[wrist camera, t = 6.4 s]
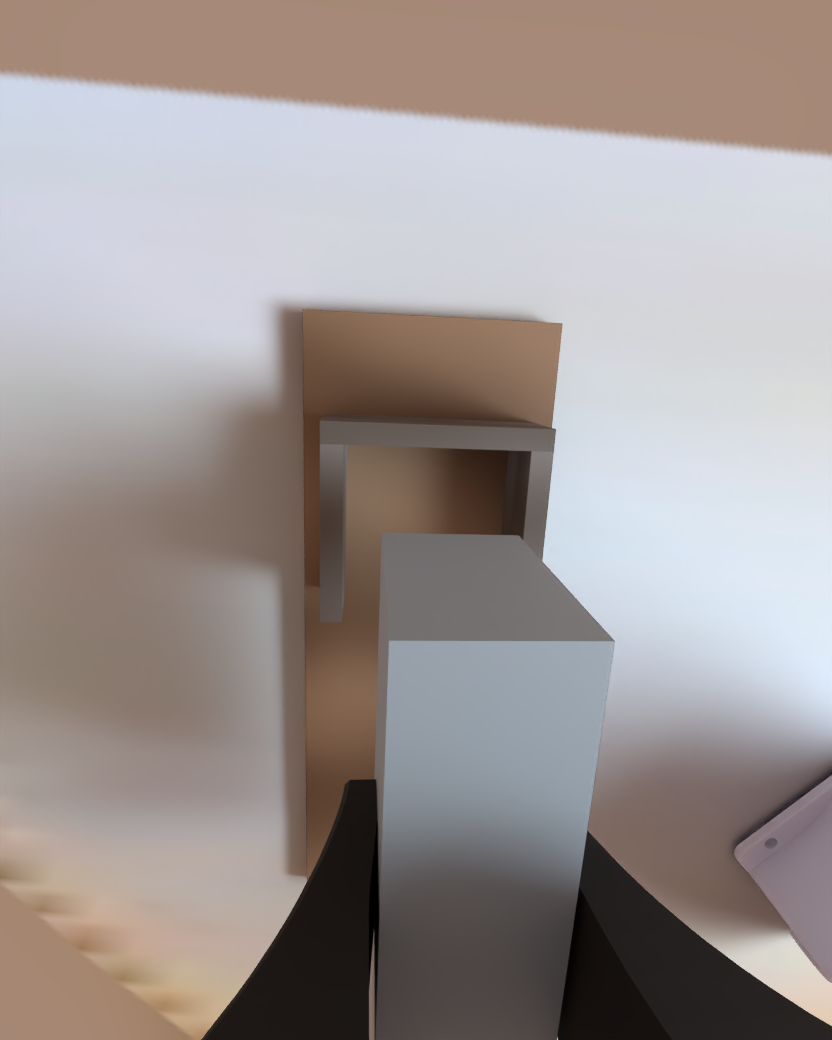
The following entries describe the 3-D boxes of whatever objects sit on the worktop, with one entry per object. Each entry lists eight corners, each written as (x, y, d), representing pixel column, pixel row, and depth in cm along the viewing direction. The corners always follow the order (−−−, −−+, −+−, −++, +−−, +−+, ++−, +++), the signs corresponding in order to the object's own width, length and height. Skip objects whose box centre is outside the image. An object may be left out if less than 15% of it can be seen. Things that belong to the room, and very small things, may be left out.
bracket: (499, 872, 23) (520, 954, 19) (309, 878, 22) (298, 963, 19) (553, 325, 17) (595, 314, 14) (305, 312, 17) (290, 298, 14)
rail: (479, 956, 15) (529, 1225, 10) (369, 961, 15) (368, 1240, 10) (518, 535, 12) (615, 641, 7) (381, 533, 12) (388, 640, 7)
